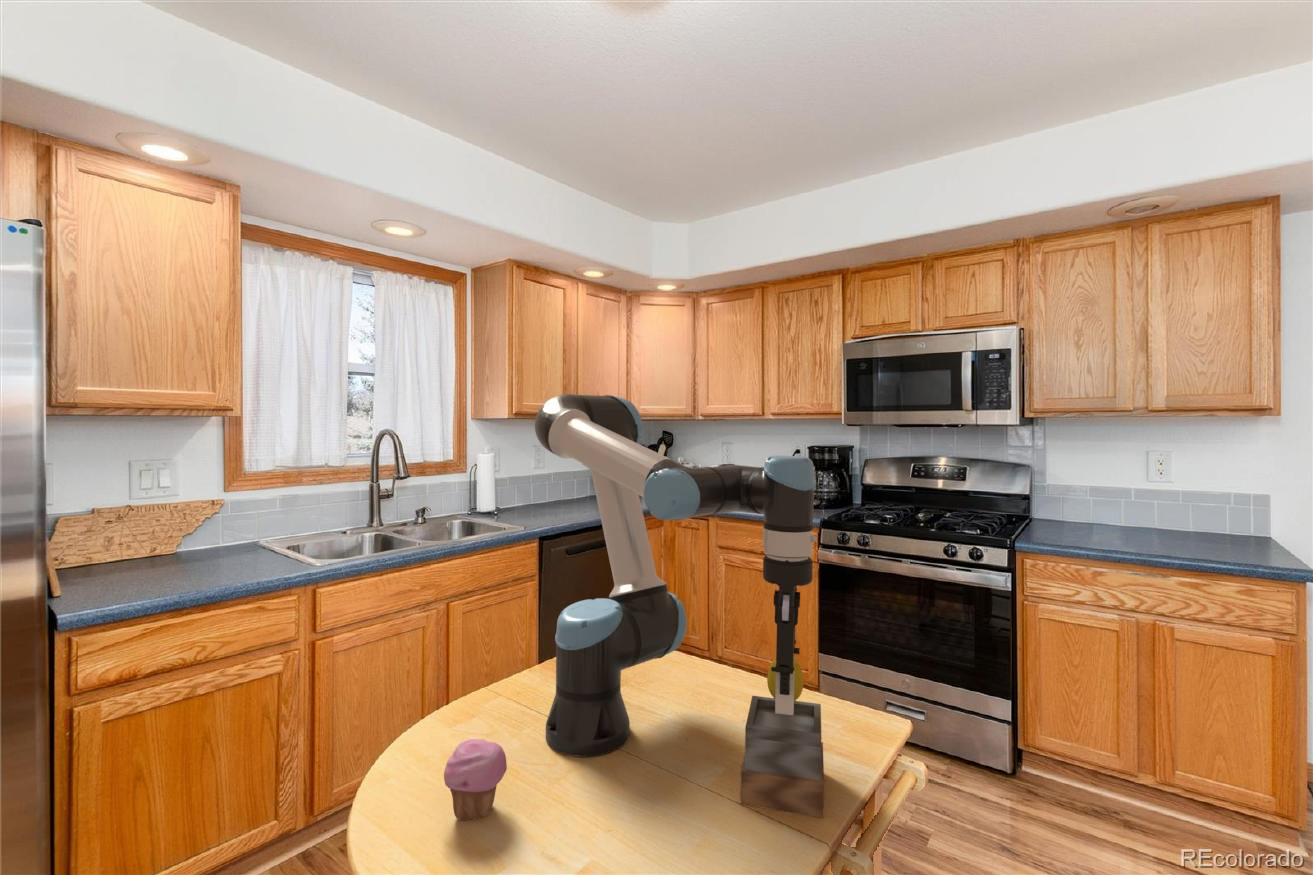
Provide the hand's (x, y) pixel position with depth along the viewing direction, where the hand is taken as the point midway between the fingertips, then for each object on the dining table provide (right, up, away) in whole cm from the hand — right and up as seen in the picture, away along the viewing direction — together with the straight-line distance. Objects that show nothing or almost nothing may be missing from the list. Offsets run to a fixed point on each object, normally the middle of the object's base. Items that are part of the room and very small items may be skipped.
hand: (785, 703), depth 97 cm
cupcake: (-46, -13, -7) cm, 49 cm away
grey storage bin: (0, -13, 0) cm, 13 cm away
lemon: (0, 0, 0) cm, 0 cm away
